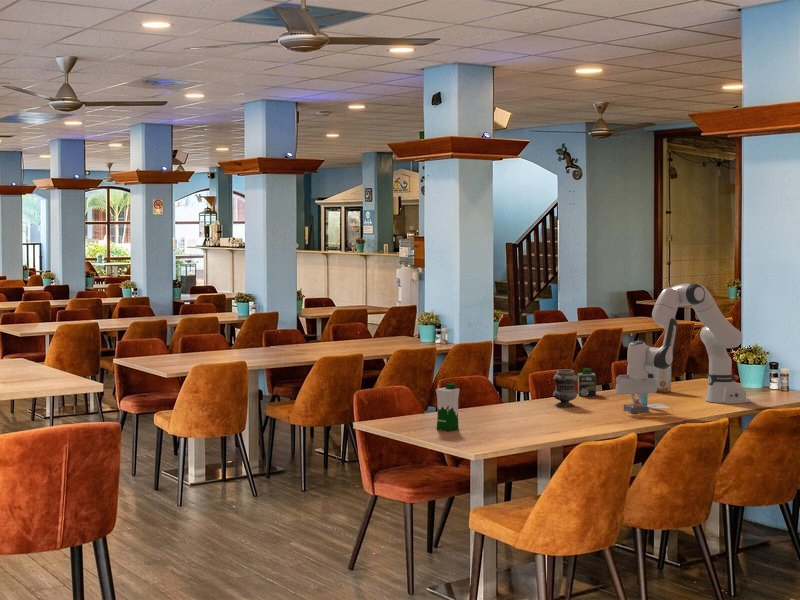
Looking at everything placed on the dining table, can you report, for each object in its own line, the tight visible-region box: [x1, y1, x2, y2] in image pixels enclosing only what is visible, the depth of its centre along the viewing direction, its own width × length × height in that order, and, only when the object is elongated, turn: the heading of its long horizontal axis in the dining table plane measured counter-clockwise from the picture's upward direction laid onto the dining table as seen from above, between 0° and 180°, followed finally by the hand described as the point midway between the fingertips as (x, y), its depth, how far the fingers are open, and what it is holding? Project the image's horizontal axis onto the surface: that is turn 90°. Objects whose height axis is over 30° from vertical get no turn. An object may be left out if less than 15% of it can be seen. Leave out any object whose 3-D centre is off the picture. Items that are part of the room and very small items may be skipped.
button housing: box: [623, 403, 650, 414], centre depth 492 cm, size 9×9×3 cm
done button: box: [630, 401, 641, 407], centre depth 492 cm, size 4×4×4 cm
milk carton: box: [435, 382, 460, 432], centre depth 448 cm, size 9×9×20 cm
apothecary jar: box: [552, 368, 578, 408], centre depth 509 cm, size 12×12×18 cm
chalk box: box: [577, 367, 597, 397], centre depth 543 cm, size 9×9×15 cm
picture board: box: [647, 403, 672, 410], centre depth 504 cm, size 18×14×1 cm
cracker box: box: [645, 364, 672, 393], centre depth 556 cm, size 14×6×21 cm, turn 59°
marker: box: [640, 393, 649, 406], centre depth 503 cm, size 4×4×14 cm
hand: (636, 402), depth 492 cm, fingers closed, pressing on done button
